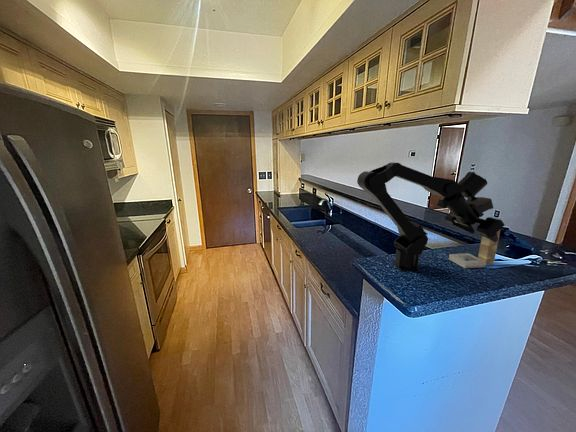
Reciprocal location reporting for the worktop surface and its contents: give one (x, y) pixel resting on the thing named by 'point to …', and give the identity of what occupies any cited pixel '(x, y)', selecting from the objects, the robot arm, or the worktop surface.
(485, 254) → the pin
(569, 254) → the worktop surface
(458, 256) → the socket plate
